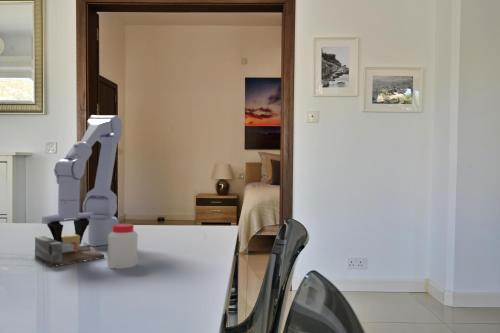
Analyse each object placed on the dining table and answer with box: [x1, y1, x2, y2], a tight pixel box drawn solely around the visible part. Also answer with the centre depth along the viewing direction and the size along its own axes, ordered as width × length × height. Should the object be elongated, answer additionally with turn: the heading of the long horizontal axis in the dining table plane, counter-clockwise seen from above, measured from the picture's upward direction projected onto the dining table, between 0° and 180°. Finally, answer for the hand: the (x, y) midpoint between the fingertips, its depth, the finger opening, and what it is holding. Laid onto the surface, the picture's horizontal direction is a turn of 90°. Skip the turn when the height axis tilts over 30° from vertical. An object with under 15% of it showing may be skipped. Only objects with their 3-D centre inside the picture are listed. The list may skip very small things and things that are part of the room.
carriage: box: [61, 233, 81, 250], centre depth 117 cm, size 5×4×4 cm
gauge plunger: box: [62, 242, 77, 252], centre depth 109 cm, size 5×2×2 cm, turn 137°
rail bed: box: [34, 235, 105, 267], centre depth 114 cm, size 14×13×6 cm
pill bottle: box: [107, 223, 139, 270], centre depth 108 cm, size 8×8×11 cm
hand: (68, 245), depth 117 cm, fingers open, 5 cm apart
